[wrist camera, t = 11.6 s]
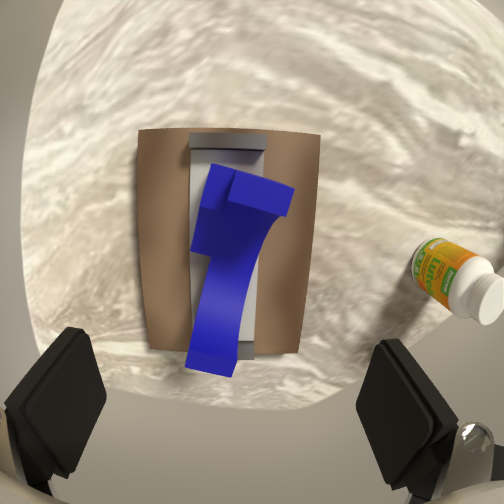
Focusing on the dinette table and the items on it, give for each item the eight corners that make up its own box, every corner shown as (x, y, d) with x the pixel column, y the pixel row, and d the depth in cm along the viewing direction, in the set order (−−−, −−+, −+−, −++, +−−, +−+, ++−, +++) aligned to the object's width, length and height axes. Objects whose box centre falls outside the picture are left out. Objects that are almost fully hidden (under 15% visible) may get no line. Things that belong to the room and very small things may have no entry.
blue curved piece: (214, 163, 19) (206, 162, 14) (277, 181, 20) (295, 188, 14) (176, 315, 22) (161, 361, 17) (231, 329, 23) (231, 377, 17)
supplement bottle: (409, 242, 24) (477, 280, 15) (449, 231, 24) (518, 261, 15) (409, 293, 26) (467, 344, 17) (448, 279, 26) (507, 320, 17)
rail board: (313, 137, 21) (326, 133, 18) (293, 340, 26) (301, 363, 23) (146, 132, 20) (131, 127, 17) (155, 336, 25) (146, 358, 22)
